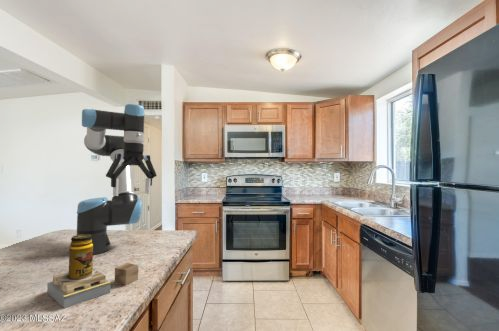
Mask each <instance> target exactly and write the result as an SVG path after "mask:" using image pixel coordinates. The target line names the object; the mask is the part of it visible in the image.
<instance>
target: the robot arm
mask: <svg viewBox="0 0 499 331" xmlns="http://www.w3.org/2000/svg"><path fill="white" fill-rule="evenodd" d="M145 115H146V114H145V108H144V106H143V105H140V104H135V103H129V104H126V105H124V110H123V112H117V111H108V110H100V109H94V108H92V109H91V108H90V109H89V108H84V109H82V111H81V126H82V127H83V128H86V134H85V136H84V138H83V143H84V146H85V147H86V149H87V150H88V151H90V152H91V153H93V154H94V155H97V156H101V157H109V158H110V160H111V161H112V163H111V165H110V167H109V169H108V171H107V172H106V173H105V177H107V178H109V179H110V181H111V182H110V186H111V188H112V198H111V199H110V200H109V199H108V197H105V196H103V197H95V198H89V199H84V200H81V201H80V202H78V204H77V209H76V210H77V211H76V214H77V216H76V235H82V234H89V235H91V236H92V244H93V256H94V255H99V254H103V253H105V252H108V251H110V249H111V245H112V244H111V241H110V239H109V235H108V232H107V231H108V229H107V228H108V226H109V227H110V226H122V225H131V224H132V225H133V224H137V223H139V222H140V220H141V218H142V217H141V216H142V210H143V209H142V208H143V200H142V199H141V198H139V197H138V194H137V193H135V191H134V180H133V178H134V177H133V168H132V166H137V167H139V169H140V170H141V171H142V172H143V174H144V175H145V176H146V177H145V180H144V182H145V186H144V187H145V189H144V190H145V191H144V193H145V194H148V195H149V194H151V186H152V185H153V179H154V178H156V177H157V176H158V175H157V172H156V169H155V168H154V166H153V163H152V161H151V155H149V154H148V155H144V141H145V140H144V139H145V136H144V135H145ZM107 130H111V131H112V130H113V131H115V130H116V131H123V136H122V135H121V136H120V135H109V134H106V133H107ZM143 160H144V161H143Z"/></svg>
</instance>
